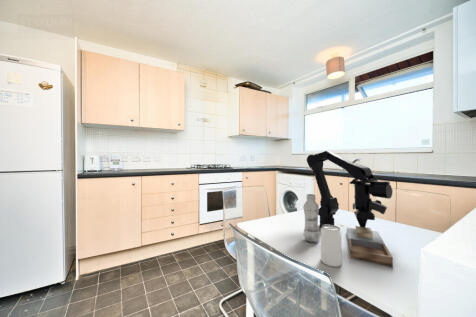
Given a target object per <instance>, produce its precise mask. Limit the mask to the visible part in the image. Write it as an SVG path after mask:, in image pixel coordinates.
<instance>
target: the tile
mask: <svg viewBox="0 0 476 317" xmlns="http://www.w3.org/2000/svg"><path fill="white" fill-rule="evenodd" d="M355 229H356V235H357V236H360V237H366V238H373V235H372V231H373V230H372V228H371V227H367V226H365V227H360V225H359V226H358V225H355Z"/></svg>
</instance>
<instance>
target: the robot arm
mask: <svg viewBox="0 0 476 317" xmlns="http://www.w3.org/2000/svg"><path fill="white" fill-rule="evenodd" d="M326 161H329V162H330V163H331V162H332V163H333V164H335V165H336V166H338V167H339V168H341V169H344V170H345V171H346V172H347V173H348V175H350V176H351V177H352V178H353V179H352V180H351V181H350V182H349V184H350V185H354V195H353V196H354V203H352V210H355V211H353V214H354V216H355V218H356V221H357V222H358V225H359V227H367V223H368V221H369V220H370V221H375V220H376V218H375V214H374V213H373V212H372V211H375V212H378V213H379V214H381V215H385V214H386V210H387V209H388V207H387V206H386V205H385V204H382V201H381V200H378V199H376V200H375V201H374V200H373V199H372V198H371V196H372V197H374V198H375V197H376V198H381V199H391V198H392V196H393V188H392V185H391V184H390V183H391V182H390V181H379V180H378V179H377V178H376V177H375V175H373V172H372V169H371V168H369V167H368V166H365V165H362V164H358V163H354V162H351V161H350V160H348V159H345V158H344V157H343V156H340V155H338V154H336V153H335V152H333V151H331V150H324V151H322V152H319V153H314V154H309V155H308V156H307V158H306V162H307V163H306V164H307V166H308V167H309V168H310V169H311V170H312V171H313V175H314V178H315V182H316V185H317V187H318V191H319V194H320V201H319V203H320V207H319V212H318V217H319V225H318V228H320V229H322V225H334V226H335V218H334V215H336V213H337V212H338V210H339V208H340V207H339V206H340V204H339V202H338V198H337V196H336V197H334V196H332V194H331V191H330V188H329V184H328V181H327V179H326V175H325V173H324V170H323V169H324V162H326Z"/></svg>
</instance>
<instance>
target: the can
mask: <svg viewBox="0 0 476 317" xmlns="http://www.w3.org/2000/svg"><path fill="white" fill-rule="evenodd" d="M342 242H343V241H342V232H341V227H339V226H337V225H335V224H334V225H322V228H320V260H321V262H322V264H325V265H326V266H328V267H333V268H339V267H341V266H342V264H343V250H342V248H343V247H342V245H343V244H342Z"/></svg>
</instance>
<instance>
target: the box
mask: <svg viewBox="0 0 476 317" xmlns="http://www.w3.org/2000/svg"><path fill="white" fill-rule="evenodd" d="M348 244H349V246H348V252H349V258H350V259H353V260H358V261H363V262H367V263H374V264H377V265H382V266H387V267H394V258H393V256H392V254H391V252H390V250H389V249H388V247H387V245H386V244H382V245H383V250H381V249H375V248H369V247H364V246H358V245H352V243H351V239H347V245H348Z"/></svg>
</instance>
